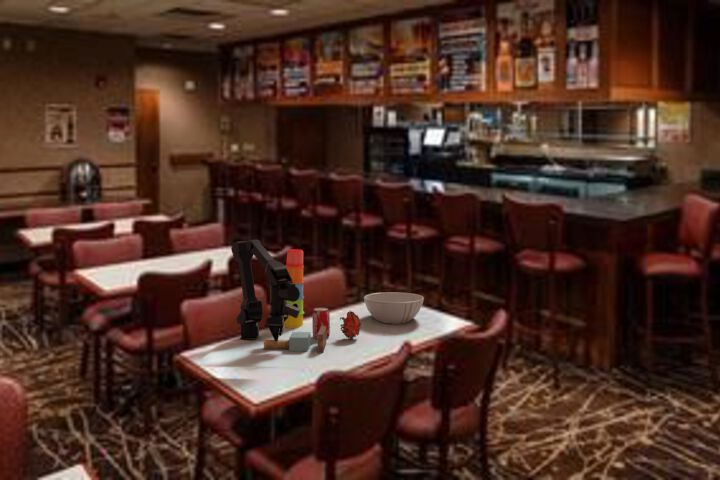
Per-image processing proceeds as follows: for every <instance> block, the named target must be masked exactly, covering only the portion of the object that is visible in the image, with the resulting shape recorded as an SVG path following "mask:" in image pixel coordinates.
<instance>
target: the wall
mask: <svg viewBox="0 0 720 480" xmlns="http://www.w3.org/2000/svg"><path fill="white" fill-rule="evenodd" d="M326 346H327V338H326V326H321V328H320V330H319V332H318V339H317V353H319V354H323V353H324V351H325V349H326Z"/></svg>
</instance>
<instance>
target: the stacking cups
mask: <svg viewBox="0 0 720 480" xmlns="http://www.w3.org/2000/svg"><path fill="white" fill-rule="evenodd" d="M284 266H286V268H287V270H288V272H289V274H290V276H291V278H292V281H293V283H295V287H297V288H298V289H299V292H300V296H299V298H298V300H297V301H295V302H291V301H287V300H286V301H287V304H289V305H293V304H294V303H297V304H298V307H299V308H300V312H299V315H298V317H297V318H294V317H292V316H290V315H289V316H288V319H287V320H286V321H285V322H284V326H283V328H288V329H289V328H290V329H291V328H292V329H295V328H301V327H303V325H304V314H305V311H304V299H305V296H304V283H305V281H304V268H305V265H304V251H303V249H297V248H294V249H293V248H290V249H287V253H286V264H284ZM285 280H286V279H285ZM285 316H287V315H285Z"/></svg>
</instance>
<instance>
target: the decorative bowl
mask: <svg viewBox="0 0 720 480" xmlns="http://www.w3.org/2000/svg"><path fill="white" fill-rule="evenodd" d="M424 300H425V297H424V296H423V295H420V294H417V293H409V292H396V291H394V292H393V291H392V292H375V293H369V294H366V295H365V296H363V301H364V304H365V307H366V309H367V311H368V312H369V313H370V315H371V316H372V317H373V318H374V319H376V321H378V322H380V323H384V324H390V323H392V324H394V325H396V324H399V323H400V324H404V323H408V322H410V321H412V320H413V319H414V318H415V317H416V316H417V315H418V314H419V313H420V310H421V308H422V306H423V304H424Z"/></svg>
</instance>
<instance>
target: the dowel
mask: <svg viewBox="0 0 720 480" xmlns="http://www.w3.org/2000/svg"><path fill="white" fill-rule="evenodd" d="M263 348H264V349H265V350H289V339H278V341H275V340H274V339H265V338H264V341H263Z"/></svg>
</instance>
